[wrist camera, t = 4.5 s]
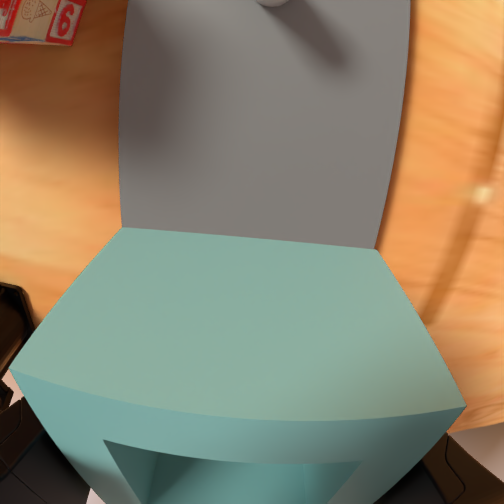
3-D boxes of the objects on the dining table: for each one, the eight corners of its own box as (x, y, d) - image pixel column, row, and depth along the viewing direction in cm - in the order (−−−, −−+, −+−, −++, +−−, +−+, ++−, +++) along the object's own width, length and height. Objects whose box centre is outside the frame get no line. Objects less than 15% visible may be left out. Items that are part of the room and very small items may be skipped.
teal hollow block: (323, 407, 11) (339, 529, 6) (147, 392, 11) (112, 511, 6) (376, 249, 8) (466, 406, 3) (122, 227, 8) (8, 367, 3)
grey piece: (349, 301, 21) (372, 366, 15) (136, 283, 20) (103, 343, 15) (398, -62, 10) (443, -102, 4) (156, -85, 10) (121, -133, 4)
